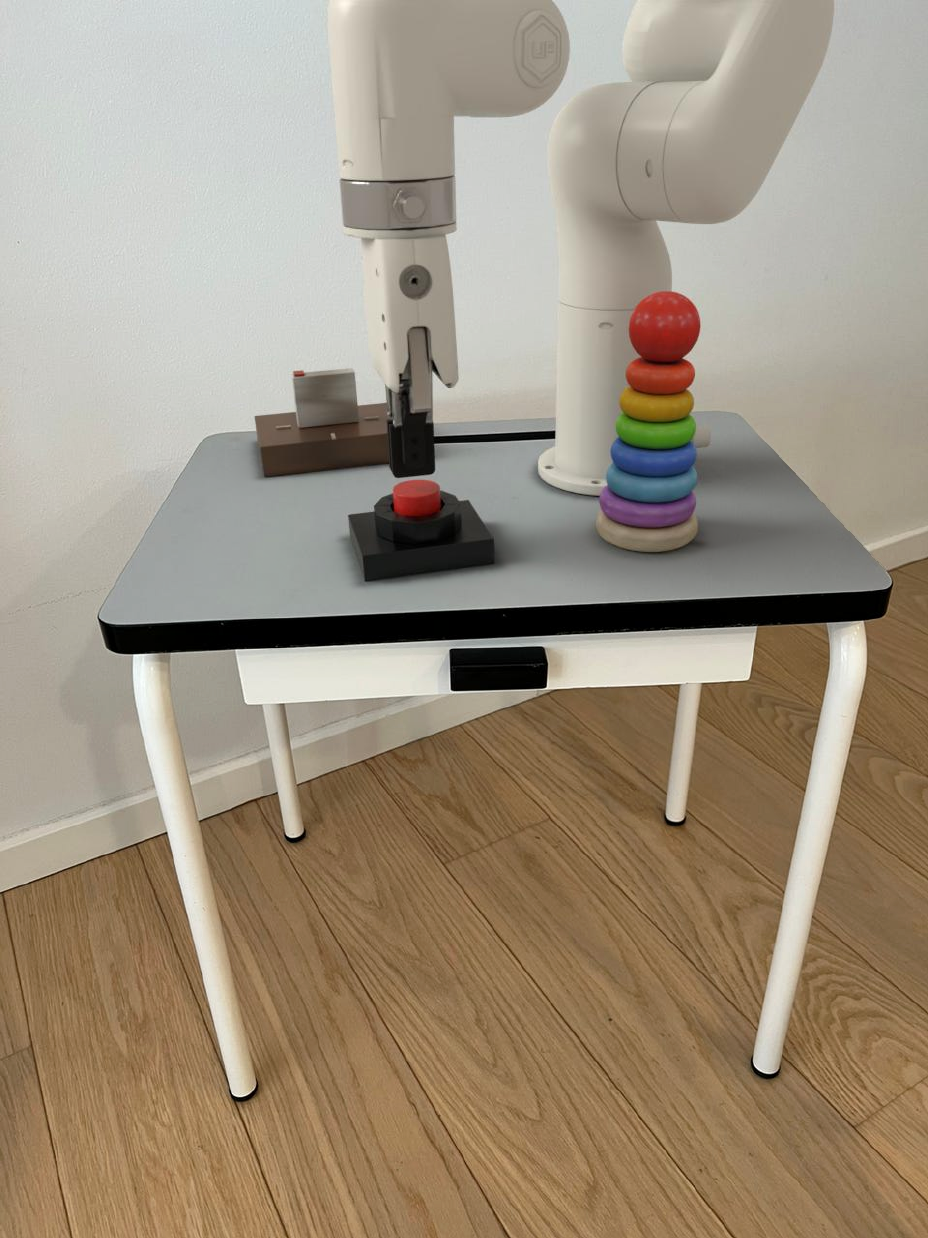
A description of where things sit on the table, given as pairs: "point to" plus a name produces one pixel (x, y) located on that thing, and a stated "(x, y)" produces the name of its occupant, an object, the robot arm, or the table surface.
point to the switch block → (419, 539)
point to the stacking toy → (654, 433)
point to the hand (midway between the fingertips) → (412, 472)
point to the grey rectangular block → (325, 397)
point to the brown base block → (322, 442)
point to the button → (416, 497)
